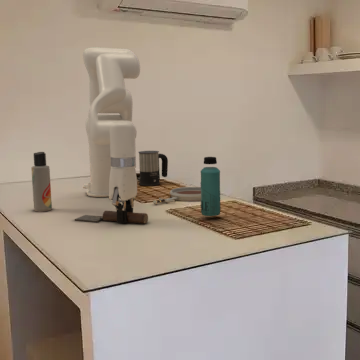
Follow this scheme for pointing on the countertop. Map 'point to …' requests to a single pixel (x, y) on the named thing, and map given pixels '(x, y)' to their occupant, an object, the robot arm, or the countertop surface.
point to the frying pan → (183, 195)
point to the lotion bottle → (41, 183)
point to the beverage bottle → (210, 188)
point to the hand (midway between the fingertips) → (125, 220)
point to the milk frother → (151, 167)
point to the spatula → (115, 217)
